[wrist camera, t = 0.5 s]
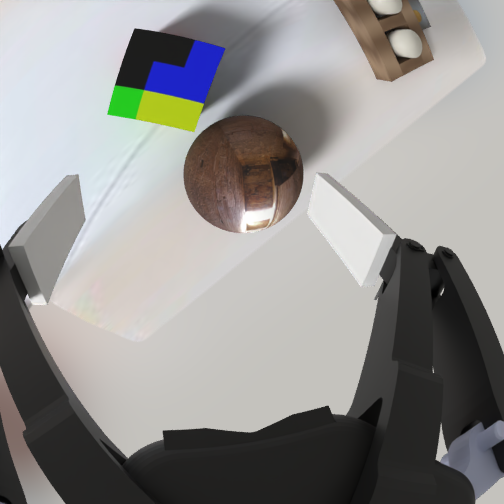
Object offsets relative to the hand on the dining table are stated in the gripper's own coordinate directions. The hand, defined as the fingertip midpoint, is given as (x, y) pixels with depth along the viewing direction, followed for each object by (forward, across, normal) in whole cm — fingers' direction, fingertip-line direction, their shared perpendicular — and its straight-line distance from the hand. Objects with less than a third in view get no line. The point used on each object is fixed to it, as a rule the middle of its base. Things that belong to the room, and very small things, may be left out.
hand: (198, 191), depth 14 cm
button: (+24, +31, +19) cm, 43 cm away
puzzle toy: (+27, -3, +6) cm, 28 cm away
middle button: (+25, +25, +25) cm, 43 cm away
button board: (+27, +28, +27) cm, 47 cm away
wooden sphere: (+27, +7, -6) cm, 29 cm away
